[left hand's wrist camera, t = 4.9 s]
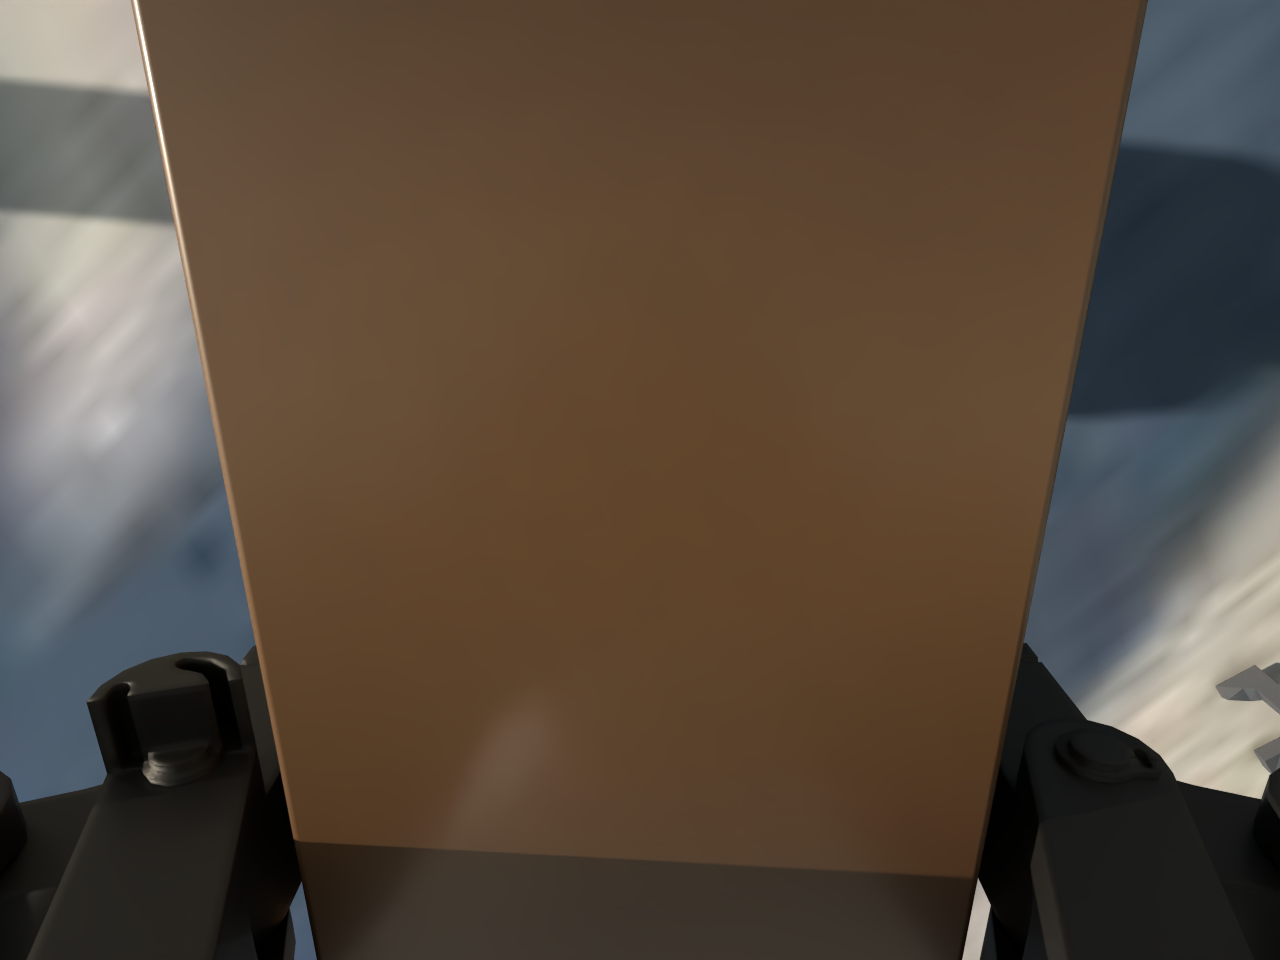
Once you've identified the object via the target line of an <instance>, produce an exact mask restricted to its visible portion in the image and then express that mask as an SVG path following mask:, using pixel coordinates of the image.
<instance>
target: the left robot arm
mask: <svg viewBox="0 0 1280 960" xmlns="http://www.w3.org/2000/svg"><path fill="white" fill-rule="evenodd" d="M87 705H88V709H89V712H90V716H91V719H92V723H93V726H94V729H95V733H96V736H97V740H98V743H99V747H100V750H101V754H102V757H103V761H104V764H105V768H106V771H107V776H106V778H105V780H104V783H103V784H102V785H98V786H95V787H91V788H87V789H83V790H79V791H74V792H69V793H64V794H60V795H55V796H50V797H45V798H41V799H36V800H31V801H26V802H22V803H19V801H18V798H17V795H16V793H15V790H14V787H13V784H12V781H11V779H10V778H9V777H8V776H6V775H5V774H4V773H2V772H1V771H0V960H294V953H295V943H296V941H295V934H294V928H293V922H292V917H291V912H290V905H291V903H292V901H293V899H294V896H295V894H296V892H297V890H298V888H299V886H300V884H301V881H302V879H301V874H300V869H299V864H298V859H297V853H296V848H295V843H294V838H293V833H292V828H291V823H290V817H289V812H288V807H287V802H286V797H285V792H284V786H283V781H282V776H281V771H280V766H279V761H278V756H277V750H276V745H275V740H274V735H273V730H272V725H271V719H270V714H269V709H268V704H267V699H266V694H265V688H264V683H263V678H262V673H261V668H260V663H259V658H258V652H257V647H256V646H253V647H252V648H251V650H250V651H249V652H248V654H247V655H246V656H245V657H244V659H243V660H242V665H239V664H238V663H237V662H235V661H234V660H233V659H231V658H230V657H229V656H226V655H222V654H217V653H212V652H185V653H177V654H173V655H168V656H164V657H160V658H155V659H151V660H149V661H146V662H144V663H141V664H139V665H137V666H134V667H132V668H129V669H127V670H124V671H123V672H121V673H119V674H118V675H116V676H115V677H113V678H112V679H110V680H109V681H107V682H106V683H104V684H102V685H101V686H100V687H99V688H98V689H97V691H96V692H95V693H94V694H93V695H92V696H91V698H90V699H89V700H88V701H87ZM978 878H979V881H980V883H981V885H982V887H983V889H984V891H985V893H986V896H987V898H988V900H989V902H990V904H991V907H990V912H989V917H988V922H987V927H986V932H985V937H984V942H983V947H982V951H981V956H980V960H1280V768H1279V769H1277V770H1276V771H1274V772H1273V773H1272V774H1270V776H1269V779H1268V781H1267V784H1266V787H1265V790H1264V793H1263V796H1262V799H1257V798H1252V797H1247V796H1242V795H1238V794H1233V793H1228V792H1223V791H1219V790H1214V789H1209V788H1204V787H1199V786H1195V785H1191V784H1187V783H1184V782H1180V781H1176V779H1175V777H1174V774H1173V772H1172V771H1171V770H1170V768H1169V767H1168V766H1167V764H1166V763H1165V762H1164V760H1163V759H1162V757H1161V756H1160V755H1159V754H1158V753H1156V752H1155V751H1154V750H1152V749H1151V748H1150V747H1148V746H1147V745H1146V744H1144V743H1143V742H1142V741H1140V740H1139V739H1137V738H1135V737H1133V736H1131V735H1129V734H1127V733H1125V732H1122V731H1120V730H1118V729H1116V728H1114V727H1112V726H1108V725H1104V724H1100V723H1096V722H1093V721H1089V720H1087V719H1086V718H1085V717H1084V716H1083V714H1082V713H1081V712H1080V711H1079V709H1078V708H1077V707H1076V705H1075V704H1074V703H1073V702H1072V700H1071V699H1070V698H1069V697H1068V695H1067V694H1066V693H1065V691H1064V690H1063V689H1062V688H1061V686H1060V685H1059V684H1058V683H1057V681H1056V680H1055V679H1054V677H1053V676H1052V675H1051V674H1050V672H1049V671H1048V670H1047V669H1046V667H1045V666H1044V665H1043V663H1042V662H1038V657H1037V656H1036V655H1035V653H1034V652H1033V651H1032V649H1031V648H1030V647H1029V646H1028V644H1027V643H1023V648H1022V653H1021V658H1020V663H1019V668H1018V673H1017V679H1016V684H1015V689H1014V694H1013V699H1012V704H1011V709H1010V715H1009V720H1008V725H1007V730H1006V735H1005V740H1004V746H1003V751H1002V756H1001V761H1000V766H999V771H998V777H997V782H996V787H995V792H994V797H993V802H992V808H991V813H990V818H989V823H988V828H987V833H986V839H985V844H984V849H983V854H982V859H981V864H980V870H979V875H978Z"/></svg>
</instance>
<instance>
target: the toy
mask: <svg viewBox="0 0 1280 960" xmlns="http://www.w3.org/2000/svg"><path fill="white" fill-rule="evenodd" d="M1216 688H1217V690H1218V691H1219V693H1220V695H1221V696H1222V697H1223V698H1225V699H1227V700H1240V701H1256V700H1263V701H1265V702H1266V703H1267V704H1268V705H1269V706H1271V707H1272V708H1273V709H1274V710H1275V711H1277V712H1278V713H1279V714H1280V685H1279V684H1278V683H1277V682H1275V681H1274V680H1273V679H1272V678H1270V677H1269V676H1268V675H1267V674H1265V673H1264V672H1263V671H1262V670H1260V669H1259V668H1258V667H1257V666H1255V665H1254V666H1252V667H1250V668H1249V669H1247V670H1245V671H1243V672H1241V673H1239V674H1237V675H1235V676H1233V677H1232V678H1230V679H1228V680H1226V681H1224V682H1222V683H1220V684H1218V685H1217V686H1216ZM1254 752H1255V753H1256V755H1257V757H1258V758H1259V760H1260V762H1261V763H1262V765H1263V766H1264V767H1265V768H1266V769H1267V770H1268V771H1269V772H1270V773H1271V774H1272V773H1273V772H1274V771H1276V770H1277V769H1279V768H1280V737H1279V738H1277V739H1275V740H1273V741H1271V742H1269V743H1267V744H1265V745H1263V746H1261V747H1259V748H1257V749H1256V750H1254Z"/></svg>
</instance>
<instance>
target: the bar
mask: <svg viewBox="0 0 1280 960" xmlns="http://www.w3.org/2000/svg"><path fill="white" fill-rule="evenodd" d="M1147 2H1148V0H131V3H132V8H133V13H134V18H135V24H136V29H137V34H138V39H139V44H140V49H141V54H142V60H143V65H144V70H145V75H146V80H147V85H148V91H149V96H150V101H151V106H152V111H153V116H154V121H155V127H156V132H157V137H158V142H159V147H160V152H161V158H162V163H163V168H164V173H165V178H166V183H167V188H168V194H169V199H170V204H171V209H172V214H173V219H174V225H175V230H176V235H177V240H178V245H179V250H180V255H181V261H182V266H183V271H184V276H185V281H186V286H187V292H188V297H189V302H190V307H191V312H192V317H193V322H194V328H195V333H196V338H197V343H198V348H199V353H200V359H201V364H202V369H203V374H204V379H205V384H206V390H207V395H208V400H209V405H210V410H211V415H212V420H213V426H214V431H215V436H216V441H217V446H218V451H219V457H220V462H221V467H222V472H223V477H224V482H225V487H226V493H227V498H228V503H229V508H230V513H231V518H232V524H233V529H234V534H235V539H236V544H237V549H238V554H239V560H240V565H241V570H242V575H243V580H244V585H245V591H246V596H247V601H248V606H249V611H250V616H251V621H252V627H253V632H254V637H255V642H256V647H257V652H258V658H259V663H260V668H261V673H262V678H263V683H264V688H265V694H266V699H267V704H268V709H269V714H270V719H271V725H272V730H273V735H274V740H275V745H276V750H277V756H278V761H279V766H280V771H281V776H282V781H283V786H284V792H285V797H286V802H287V807H288V812H289V817H290V823H291V828H292V833H293V838H294V843H295V848H296V853H297V859H298V864H299V869H300V874H301V879H302V884H303V890H304V895H305V900H306V905H307V910H308V915H309V920H310V926H311V931H312V936H313V941H314V946H315V951H316V957H317V960H962V957H963V952H964V947H965V942H966V937H967V931H968V926H969V921H970V916H971V911H972V906H973V900H974V895H975V890H976V885H977V880H978V875H979V870H980V864H981V859H982V854H983V849H984V844H985V839H986V833H987V828H988V823H989V818H990V813H991V808H992V802H993V797H994V792H995V787H996V782H997V777H998V771H999V766H1000V761H1001V756H1002V751H1003V746H1004V740H1005V735H1006V730H1007V725H1008V720H1009V715H1010V709H1011V704H1012V699H1013V694H1014V689H1015V684H1016V679H1017V673H1018V668H1019V663H1020V658H1021V653H1022V648H1023V642H1024V637H1025V632H1026V627H1027V622H1028V617H1029V611H1030V606H1031V601H1032V596H1033V591H1034V586H1035V580H1036V575H1037V570H1038V565H1039V560H1040V555H1041V549H1042V544H1043V539H1044V534H1045V529H1046V524H1047V518H1048V513H1049V508H1050V503H1051V498H1052V493H1053V487H1054V482H1055V477H1056V472H1057V467H1058V462H1059V457H1060V451H1061V446H1062V441H1063V436H1064V431H1065V426H1066V420H1067V415H1068V410H1069V405H1070V400H1071V395H1072V389H1073V384H1074V379H1075V374H1076V369H1077V364H1078V358H1079V353H1080V348H1081V343H1082V338H1083V333H1084V327H1085V322H1086V317H1087V312H1088V307H1089V302H1090V296H1091V291H1092V286H1093V281H1094V276H1095V271H1096V266H1097V260H1098V255H1099V250H1100V245H1101V240H1102V235H1103V229H1104V224H1105V219H1106V214H1107V209H1108V204H1109V198H1110V193H1111V188H1112V183H1113V178H1114V173H1115V167H1116V162H1117V157H1118V152H1119V147H1120V142H1121V136H1122V131H1123V126H1124V121H1125V116H1126V111H1127V105H1128V100H1129V95H1130V90H1131V85H1132V80H1133V75H1134V69H1135V64H1136V59H1137V54H1138V49H1139V44H1140V38H1141V33H1142V28H1143V23H1144V18H1145V13H1146V7H1147Z"/></svg>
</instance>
